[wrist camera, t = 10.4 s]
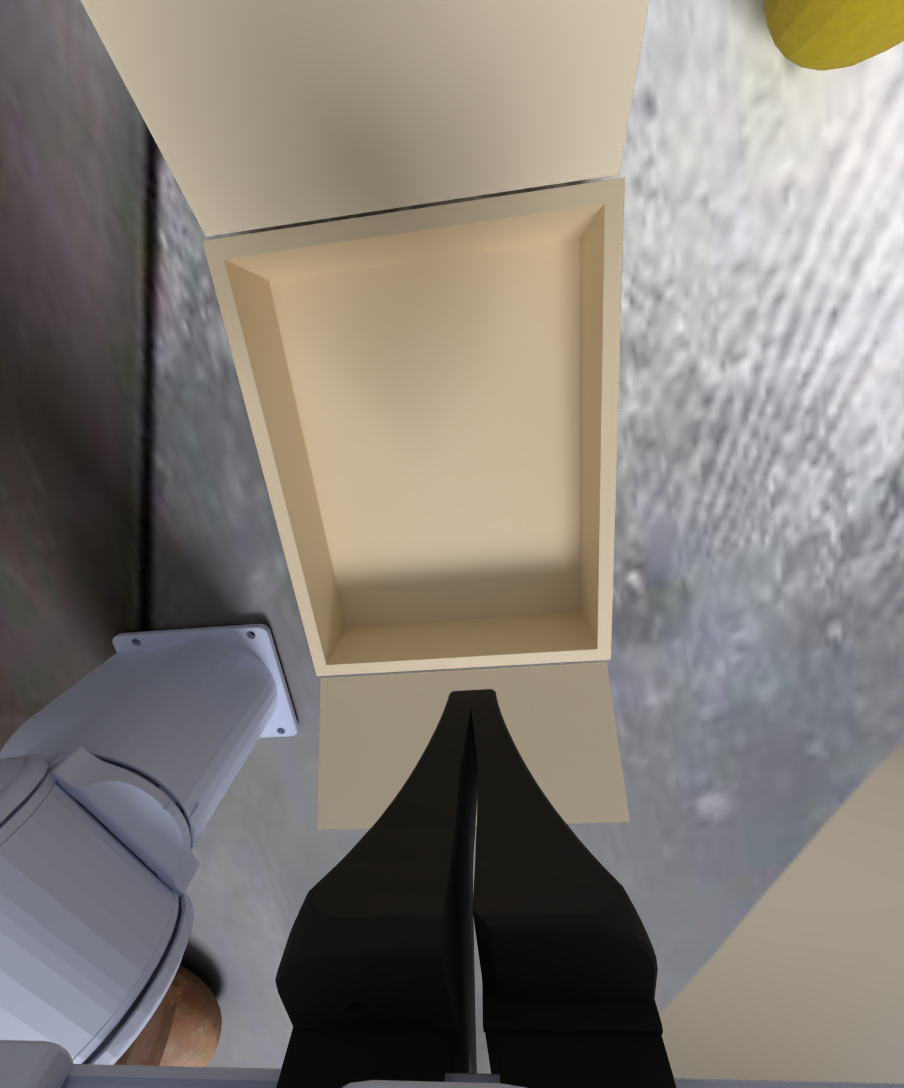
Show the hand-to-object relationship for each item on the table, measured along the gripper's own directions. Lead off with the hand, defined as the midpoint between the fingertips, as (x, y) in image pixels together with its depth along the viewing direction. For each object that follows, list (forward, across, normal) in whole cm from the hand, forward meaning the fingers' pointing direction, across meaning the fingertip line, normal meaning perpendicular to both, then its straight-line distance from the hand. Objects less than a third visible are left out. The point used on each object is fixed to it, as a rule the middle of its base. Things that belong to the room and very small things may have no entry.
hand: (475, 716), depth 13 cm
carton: (+10, +1, -6) cm, 12 cm away
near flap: (+4, +1, -18) cm, 18 cm away
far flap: (+4, +1, +6) cm, 7 cm away
